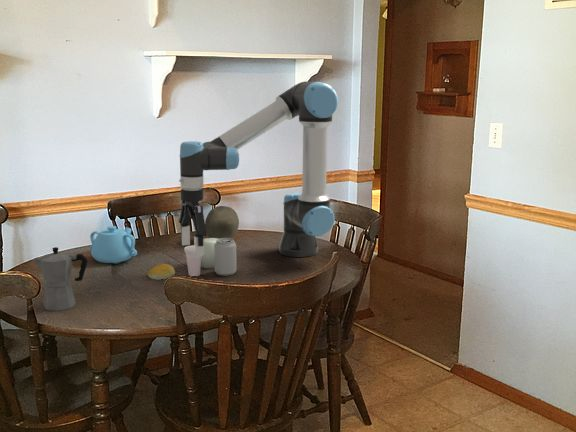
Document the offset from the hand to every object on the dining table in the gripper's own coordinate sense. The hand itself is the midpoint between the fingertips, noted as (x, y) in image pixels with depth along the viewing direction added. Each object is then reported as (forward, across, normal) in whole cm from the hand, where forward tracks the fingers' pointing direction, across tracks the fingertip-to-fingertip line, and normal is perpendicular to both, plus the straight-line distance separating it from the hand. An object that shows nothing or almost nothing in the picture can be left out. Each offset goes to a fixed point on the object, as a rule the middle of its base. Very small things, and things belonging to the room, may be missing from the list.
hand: (192, 249), depth 214 cm
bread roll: (+10, -4, -10) cm, 14 cm away
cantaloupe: (+9, -33, +25) cm, 42 cm away
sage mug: (+9, -8, +10) cm, 15 cm away
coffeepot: (+10, +9, -44) cm, 46 cm away
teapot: (+10, -31, -18) cm, 38 cm away
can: (+9, +3, +11) cm, 14 cm away
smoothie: (+9, 0, 0) cm, 9 cm away
